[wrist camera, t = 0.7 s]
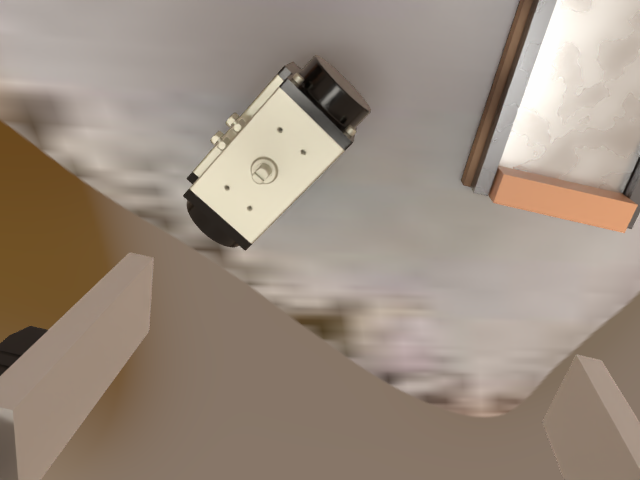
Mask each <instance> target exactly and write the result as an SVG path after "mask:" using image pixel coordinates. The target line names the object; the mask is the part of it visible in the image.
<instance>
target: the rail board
mask: <svg viewBox="0 0 640 480" xmlns="http://www.w3.org/2000/svg"><path fill="white" fill-rule="evenodd" d="M461 181H462V183H463V185H464V186H469V187H471V189H472V191H473V193H477V194H481V195H486V196H488V195H489V197H490V198H491V200H492V201H493V203H496V204H501V205H505V206H509V207H514V208H518V209H523V210H527V211H531V212H536V213H540V214H544V215H549V216H553V217H557V218H562V219H566V220H570V221H575V222H579V223H583V224H588V225H592V226H597V227H601V228H605V229H610V230H614V231H618V232H623V233H625V231H626V229H627V228H629V229H632V227H633V225H634V223H635V221H636V219H637V217H638V215H639V213H640V0H520V2H519V5H518V8H517V11H516V14H515V18H514V21H513V24H512V27H511V30H510V33H509V36H508V39H507V42H506V45H505V48H504V51H503V54H502V57H501V60H500V63H499V66H498V69H497V72H496V76H495V79H494V82H493V85H492V88H491V91H490V94H489V97H488V100H487V103H486V106H485V109H484V112H483V115H482V118H481V121H480V124H479V127H478V130H477V133H476V137H475V140H474V143H473V146H472V149H471V152H470V155H469V158H468V161H467V164H466V167H465V170H464V173H463V176H462V179H461Z"/></svg>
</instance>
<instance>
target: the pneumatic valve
mask: <svg viewBox="0 0 640 480" xmlns="http://www.w3.org/2000/svg"><path fill="white" fill-rule="evenodd" d="M370 112H371V109H370V107H369V105H368V104H367V102H366V101H365V100H364V98H363V97H362V96H361V95H360V94H359V92H358V91H357V90H356V89H355V88H354V87H353V86H352V85H351V84H350V83H349V82H348V81H347V79H346V78H345V77H344V76H342V75H341V74H340V73H339V72H338V71H337V70H336V69H335V68H334V67H333V66H332V65H331V64H329V63H328V62H327V61H326V60H324V59H323V58H322V57H320V56H318V55H315V56H314V57H313V58H312V59H311V60H310V61H309V63H308V64H307V65H306V66H305V67H304V68H302V69H300V68H299V67H298V66H297V65H296V64H295V63H294V62H291V63H289V64H287V65H285V66H284V67H283V68H282V69H281V70H280V71H279V73H278V74H277V75H276V76H275V77H274V78H273V79H272V81H271V82H270V83H269V84H268V85H267V86H266V88H265V89H264V90H263V91H262V92H261V93H260V94H259V96H258V97H257V98H256V99H255V100H254V101H253V103H252V104H251V105H250V106H249V107H248V108H247V109H246V111H245V112H244V113H243V114H242V115H241V116H240V118H239V115H238V114H237V113H233V114H232V115H231V116H230V118H229V119H228V120H227V121H226V125H227V126H229V127H231V126H232V125H233V126H232V127H231V128H230V129H229V130H228V131H227V133H226V134H225V135H224V134H223V133H222V132H221V131H218V132H217V133H216V134H215V135H214V136H213V137H212V139H211V140H210V141H211V143H213V144H214V145H215V144H216V143H217V142H218V143H217V144H216V145H215V146H214V148H213V149H212V150H211V151H210V152H209V153H208V154H207V156H206V157H205V158H204V159H203V160H202V161H201V163H200V164H199V165H198V166H197V167H196V168H195V170H194V171H193V172H192V173H191V174H190V175H189V176H188V178H187V179H188V180H189V181H190V182H191V183H192V184H193V185H192V186H191V187H190V188H189V189H188V191H187V192H186V193H185V194H184V195H183V196H184V197H185V198H186V199H187V210H188V213H189V215H190V217H191V218H192V220H193V221H194V223H195V224H196V225H197V226H198V228H199V229H200V230H201V231H202V232H203V233H204V234H206V235H207V236H208V237H209V238H211V239H212V240H214V241H216V242H217V243H219V244H222V245H224V246H228V247H237V246H240V247H242V248H243V249H244V250H247V249H248V248H249V247H250V246H251V245H252V244H253V243H254V242H255V241H256V240H257V239H258V238H259V237H260V236H261V235H262V234H263V233H264V232H265V231H266V230H267V229H268V228H269V227H270V226H271V225H272V224H273V223H274V222H275V221H276V220H277V218H278V217H279V216H280V215H281V214H282V213H283V212H284V211H285V210H286V209H287V208H288V207H289V206H290V205H291V204H292V203H293V202H294V201H295V200H296V199H297V198H298V197H299V196H300V195H301V194H302V193H303V192H304V191H305V190H306V189H307V188H308V187H309V186H310V185H311V184H312V183H313V182H314V181H315V180H316V179H317V178H318V177H319V176H320V175H321V174H322V173H323V172H324V171H325V170H326V169H327V168H328V167H329V166H330V165H331V164H332V163H333V162H334V161H335V160H336V159H337V158H338V157H339V156H340V155H341V154H342V153H343V152H344V151H345V150H346V149H347V148H348V147H349V146H350V145H351V144H352V143H353V141H354V137H355V133H356V128H357V126H358V125H359V124H360V123H361V122H362V121H363V120H364V119H365V118H366V117H367V116H368V115H369V114H370ZM238 118H239V119H238ZM237 119H238V120H237ZM223 135H224V136H223Z"/></svg>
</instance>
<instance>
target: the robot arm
mask: <svg viewBox="0 0 640 480" xmlns="http://www.w3.org/2000/svg"><path fill="white" fill-rule="evenodd" d="M153 260H154V258H152V257H148V256H143V255H139V254H134V253H128V254H127V255H126V256H125V257H124V258H123V259H122V260H121V261H120V262H119V263H118V264H117V265H116V266H115V267H114V268H113V269H112V270H111V271H110V272H109V273H107V274H106V275H105V276H104V277H103V278H102V279H101V280H100V281H99V282H98V283H97V284H96V285H95V286H94V287H93V288H92V289H91V290H90V291H89V292H88V293H87V294H86V295H85V296H83V298H82V299H80V300H79V301H78V302H77V303H76V304H75V305H74V306H73V307H72V308H71V309H70V310H69V311H68V312H67V313H66V314H65V315H64V316H63V317H62V318H61V319H59V320H58V321H57V322H56V323H55V324H54V325H53V326H52V327H51V328H50V329H49V330H46V329H42V328H37V327H33V326H29V327H27V328H25V329H23V330H21V331H18V332H16V333H14V334H12V335H10V336H8V337H7V338H6V339H5V340H4V341H3V342H1V343H0V480H41V478H42V477H43V476H44V474H45V473H46V472H47V470H48V469H49V467H50V466H51V465H52V463H53V462H54V461H55V459H56V458H57V456H58V455H59V454H60V452H61V451H62V450H63V448H64V447H65V446H66V444H67V443H68V441H69V440H70V438H71V437H72V436H73V435H74V433H75V432H76V430H77V429H78V428H79V426H80V425H81V424H82V422H83V421H84V419H85V418H86V417H87V415H88V414H89V412H90V411H91V410H92V408H93V407H94V406H95V404H96V403H97V402H98V400H99V399H100V398H101V396H102V395H103V393H104V392H105V391H106V389H107V388H108V387H109V385H110V384H111V382H112V381H113V380H114V378H115V377H116V376H117V374H118V373H119V372H120V370H121V369H122V367H123V366H124V365H125V363H126V362H127V361H128V359H129V358H130V356H131V355H132V354H133V352H134V351H135V350H136V348H137V347H138V345H139V344H140V343H141V341H142V340H143V339H144V337H145V336H146V334H147V333H148V332H149V324H150V307H151V292H152V277H153ZM542 423H543V426H544V429H545V431H546V434H547V436H548V439H549V442H550V444H551V447H552V450H553V452H554V455H555V457H556V460H557V463H558V465H559V468H560V470H561V473H562V476H563V478H564V480H640V423H639V421H638V419H637V417H636V416H635V414H634V413H633V411H632V409H631V408H630V406H629V405H628V403H627V401H626V400H625V398H624V396H623V395H622V393H621V392H620V390H619V388H618V387H617V385H616V383H615V382H614V380H613V379H612V377H611V375H610V374H609V372H608V370H607V369H606V367H605V365H604V364H603V362H602V361H601V360H598V359H593V358H589V357H585V356H581V355H576V356H575V358H574V360H573V362H572V364H571V366H570V368H569V370H568V372H567V374H566V376H565V378H564V380H563V382H562V384H561V386H560V388H559V390H558V392H557V394H556V396H555V398H554V400H553V402H552V404H551V406H550V408H549V410H548V412H547V414H546V416H545V418H544V420H543V422H542Z"/></svg>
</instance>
